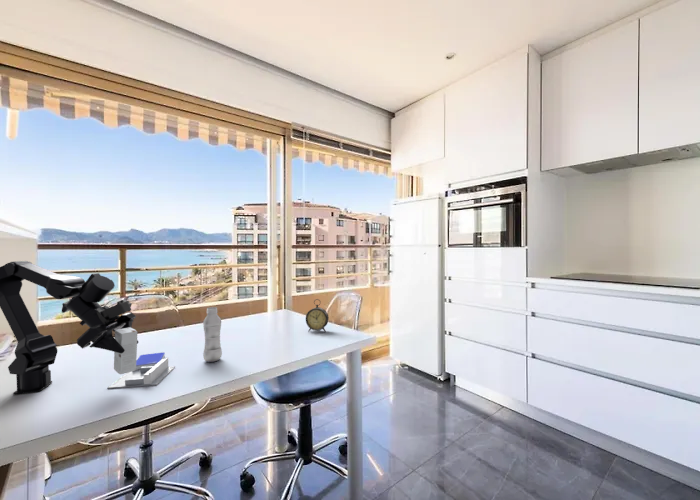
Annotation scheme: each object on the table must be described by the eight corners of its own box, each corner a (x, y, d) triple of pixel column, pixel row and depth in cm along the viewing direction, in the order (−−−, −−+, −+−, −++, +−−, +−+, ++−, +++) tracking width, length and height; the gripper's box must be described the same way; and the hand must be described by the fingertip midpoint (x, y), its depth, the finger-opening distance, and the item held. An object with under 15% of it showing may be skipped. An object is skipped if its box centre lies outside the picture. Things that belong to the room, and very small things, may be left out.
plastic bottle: (217, 356, 121) (217, 305, 121) (225, 360, 116) (224, 308, 116) (200, 360, 117) (199, 308, 116) (207, 365, 112) (206, 310, 111)
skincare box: (113, 369, 93) (112, 329, 93) (130, 365, 97) (130, 326, 96) (120, 375, 90) (120, 333, 89) (137, 370, 93) (137, 330, 93)
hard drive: (159, 362, 110) (164, 352, 121) (131, 365, 107) (140, 354, 118) (159, 366, 110) (164, 356, 121) (131, 370, 107) (140, 359, 118)
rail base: (107, 388, 94) (107, 376, 94) (132, 370, 108) (131, 359, 108) (156, 385, 97) (156, 373, 96) (175, 367, 110) (174, 356, 110)
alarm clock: (305, 332, 152) (305, 299, 152) (308, 329, 158) (308, 297, 157) (326, 333, 151) (326, 300, 150) (329, 330, 156) (329, 298, 156)
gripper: (88, 298, 83) (133, 338, 84) (129, 287, 101) (165, 320, 103) (56, 328, 82) (102, 367, 84) (103, 311, 100) (139, 344, 102)
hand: (130, 347), depth 93 cm, fingers closed on skincare box, 7 cm apart
